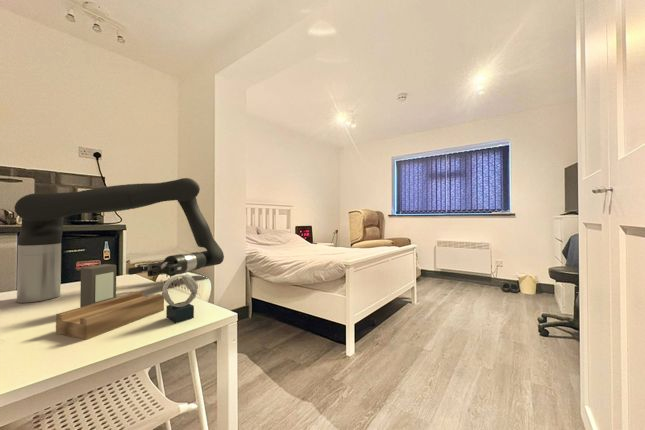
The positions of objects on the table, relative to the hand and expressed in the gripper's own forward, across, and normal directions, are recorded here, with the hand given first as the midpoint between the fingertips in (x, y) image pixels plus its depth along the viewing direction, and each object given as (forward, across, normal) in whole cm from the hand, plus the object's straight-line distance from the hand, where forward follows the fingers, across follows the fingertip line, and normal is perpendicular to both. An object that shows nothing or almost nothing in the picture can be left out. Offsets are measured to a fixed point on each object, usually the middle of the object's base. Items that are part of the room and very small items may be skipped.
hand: (138, 272), depth 81 cm
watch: (+9, +27, +8) cm, 30 cm away
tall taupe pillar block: (+11, 0, +8) cm, 14 cm away
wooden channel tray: (+15, +13, +8) cm, 22 cm away
